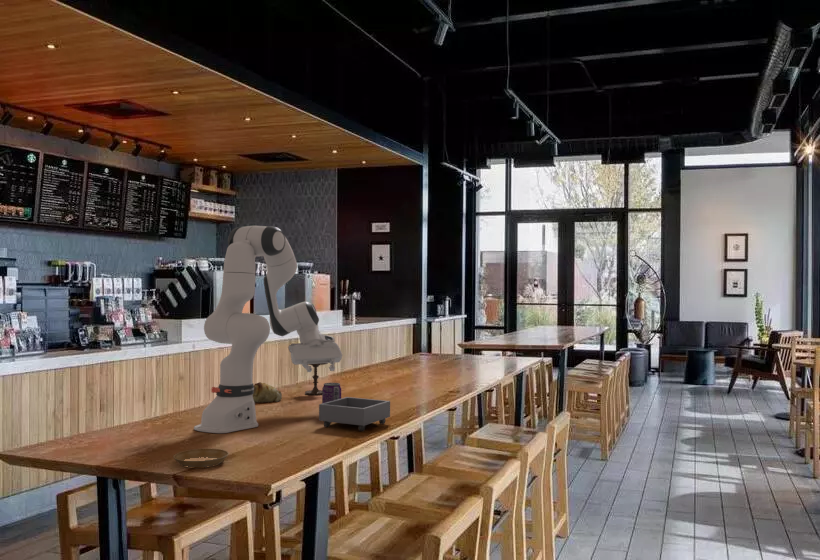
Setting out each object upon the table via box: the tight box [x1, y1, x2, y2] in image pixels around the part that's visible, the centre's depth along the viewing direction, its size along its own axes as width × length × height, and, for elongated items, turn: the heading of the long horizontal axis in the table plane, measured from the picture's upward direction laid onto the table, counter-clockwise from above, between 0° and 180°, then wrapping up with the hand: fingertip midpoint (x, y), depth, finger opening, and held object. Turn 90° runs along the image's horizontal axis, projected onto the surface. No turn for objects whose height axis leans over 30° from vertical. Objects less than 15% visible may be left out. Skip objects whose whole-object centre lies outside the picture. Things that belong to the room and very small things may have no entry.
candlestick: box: [304, 363, 329, 396], centre depth 329 cm, size 11×11×35 cm
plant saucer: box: [173, 448, 229, 468], centre depth 207 cm, size 15×15×3 cm
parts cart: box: [318, 396, 391, 432], centre depth 260 cm, size 18×18×8 cm
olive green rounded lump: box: [253, 382, 283, 403], centre depth 311 cm, size 14×12×8 cm
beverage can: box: [321, 382, 342, 404], centre depth 278 cm, size 7×7×12 cm
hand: (321, 370), depth 287 cm, fingers open, 8 cm apart
